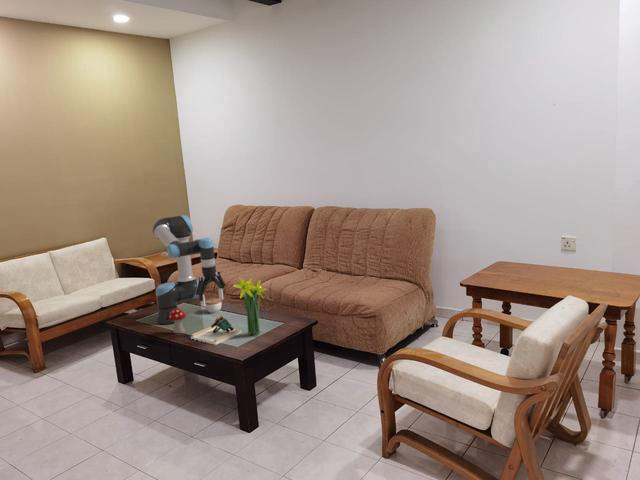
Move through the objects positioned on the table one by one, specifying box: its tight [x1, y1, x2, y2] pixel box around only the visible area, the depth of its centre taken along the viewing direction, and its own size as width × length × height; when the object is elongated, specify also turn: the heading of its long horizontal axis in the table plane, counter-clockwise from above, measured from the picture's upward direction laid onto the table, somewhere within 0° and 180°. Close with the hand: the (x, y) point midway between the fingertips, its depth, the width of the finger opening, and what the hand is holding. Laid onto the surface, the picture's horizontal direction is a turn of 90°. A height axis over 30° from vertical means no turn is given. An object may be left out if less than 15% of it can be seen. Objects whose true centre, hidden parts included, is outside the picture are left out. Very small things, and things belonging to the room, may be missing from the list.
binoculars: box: [211, 315, 235, 333], centre depth 288 cm, size 9×11×10 cm
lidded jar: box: [205, 297, 222, 314], centre depth 335 cm, size 11×11×9 cm
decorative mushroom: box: [169, 308, 187, 334], centre depth 297 cm, size 10×9×15 cm
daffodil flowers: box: [232, 276, 268, 336], centre depth 285 cm, size 17×15×35 cm
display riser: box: [190, 325, 242, 346], centre depth 289 cm, size 20×20×3 cm
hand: (212, 302), depth 286 cm, fingers open, 13 cm apart
